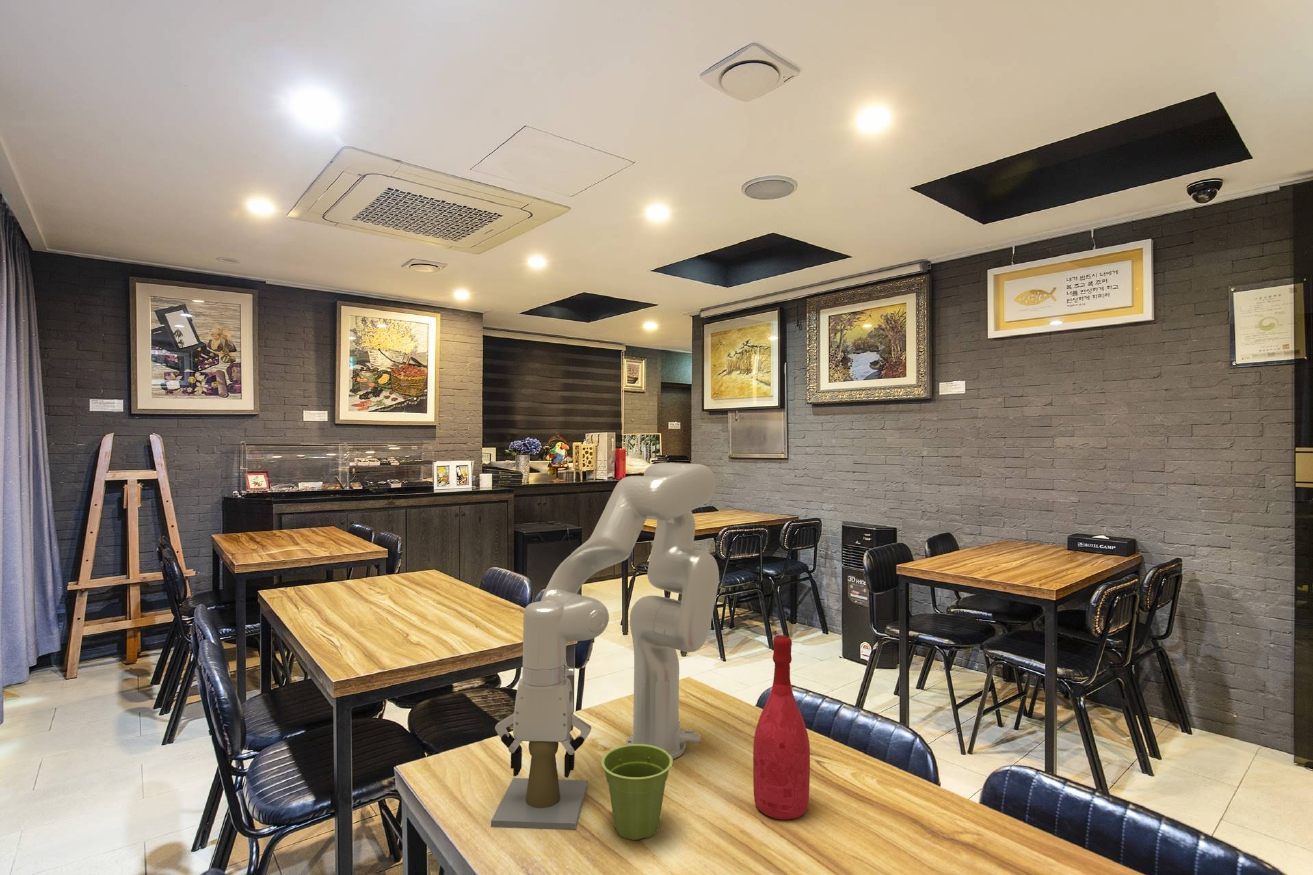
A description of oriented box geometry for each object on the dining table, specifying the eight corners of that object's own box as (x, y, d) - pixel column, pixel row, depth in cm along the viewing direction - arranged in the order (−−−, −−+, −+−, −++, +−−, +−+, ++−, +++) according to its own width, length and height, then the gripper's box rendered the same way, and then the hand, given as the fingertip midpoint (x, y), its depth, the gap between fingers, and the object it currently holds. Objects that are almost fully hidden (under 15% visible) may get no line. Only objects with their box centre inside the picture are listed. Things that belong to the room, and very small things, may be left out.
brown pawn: (553, 809, 111) (554, 744, 111) (520, 805, 112) (520, 741, 112) (565, 791, 116) (565, 729, 117) (533, 787, 118) (533, 726, 118)
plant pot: (604, 807, 113) (605, 742, 114) (672, 809, 113) (672, 744, 113) (595, 849, 101) (597, 776, 102) (671, 851, 101) (672, 778, 101)
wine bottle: (812, 798, 117) (813, 631, 118) (806, 827, 108) (807, 646, 109) (758, 788, 120) (759, 626, 121) (747, 816, 111) (749, 640, 112)
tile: (587, 785, 121) (587, 780, 121) (575, 829, 107) (575, 823, 107) (513, 783, 121) (513, 777, 121) (490, 826, 107) (491, 820, 107)
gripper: (596, 667, 118) (594, 764, 117) (501, 665, 118) (499, 761, 118) (590, 682, 110) (588, 785, 110) (489, 679, 111) (487, 782, 111)
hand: (542, 772), depth 114 cm, fingers open, 8 cm apart
